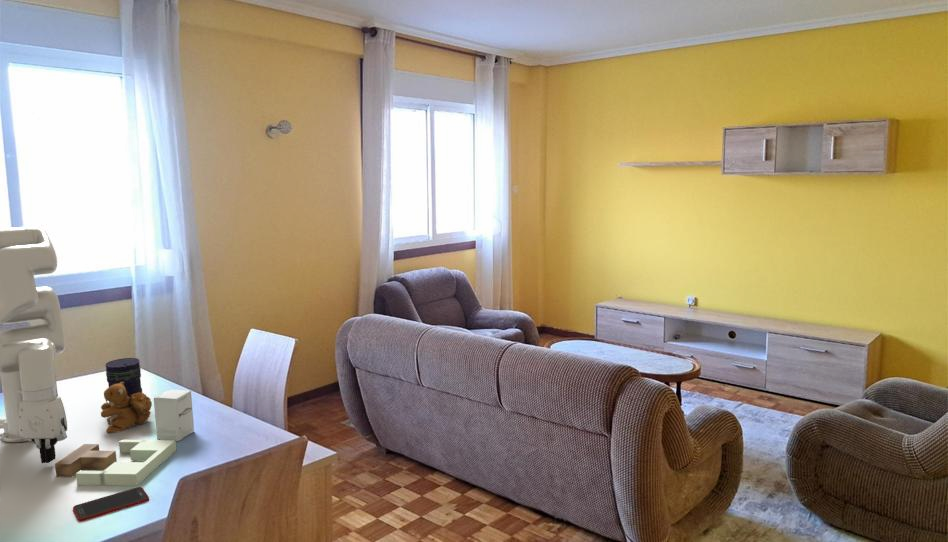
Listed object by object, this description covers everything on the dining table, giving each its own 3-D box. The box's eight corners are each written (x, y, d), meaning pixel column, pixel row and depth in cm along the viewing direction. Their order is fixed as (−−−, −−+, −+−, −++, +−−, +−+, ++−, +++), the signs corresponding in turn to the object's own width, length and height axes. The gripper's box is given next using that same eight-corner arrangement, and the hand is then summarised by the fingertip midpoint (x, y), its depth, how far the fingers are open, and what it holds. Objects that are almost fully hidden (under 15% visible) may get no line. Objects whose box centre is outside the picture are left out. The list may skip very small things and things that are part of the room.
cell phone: (72, 510, 154) (71, 506, 154) (141, 489, 163) (141, 485, 163) (78, 523, 148) (78, 519, 148) (150, 501, 158) (150, 498, 157)
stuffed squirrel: (105, 422, 205) (101, 380, 203) (156, 415, 210) (152, 375, 208) (99, 434, 196) (94, 391, 194) (153, 427, 200) (149, 385, 198)
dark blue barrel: (106, 406, 218) (101, 362, 215) (138, 399, 224) (134, 356, 222) (114, 415, 211) (109, 369, 208) (148, 407, 217) (143, 362, 215)
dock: (77, 484, 165) (75, 473, 165) (122, 450, 185) (121, 439, 185) (136, 485, 165) (135, 474, 164) (176, 450, 184) (175, 440, 184)
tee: (56, 477, 170) (54, 464, 169) (85, 456, 182) (84, 444, 181) (98, 477, 169) (97, 464, 169) (125, 456, 181) (124, 444, 180)
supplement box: (179, 441, 190) (175, 399, 188) (156, 439, 192) (152, 397, 190) (195, 431, 197) (191, 390, 195) (172, 429, 199) (169, 388, 197)
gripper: (1, 398, 169) (10, 467, 172) (59, 398, 169) (67, 467, 172) (22, 388, 177) (30, 454, 180) (77, 388, 176) (85, 455, 179)
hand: (48, 460), depth 176 cm, fingers closed
